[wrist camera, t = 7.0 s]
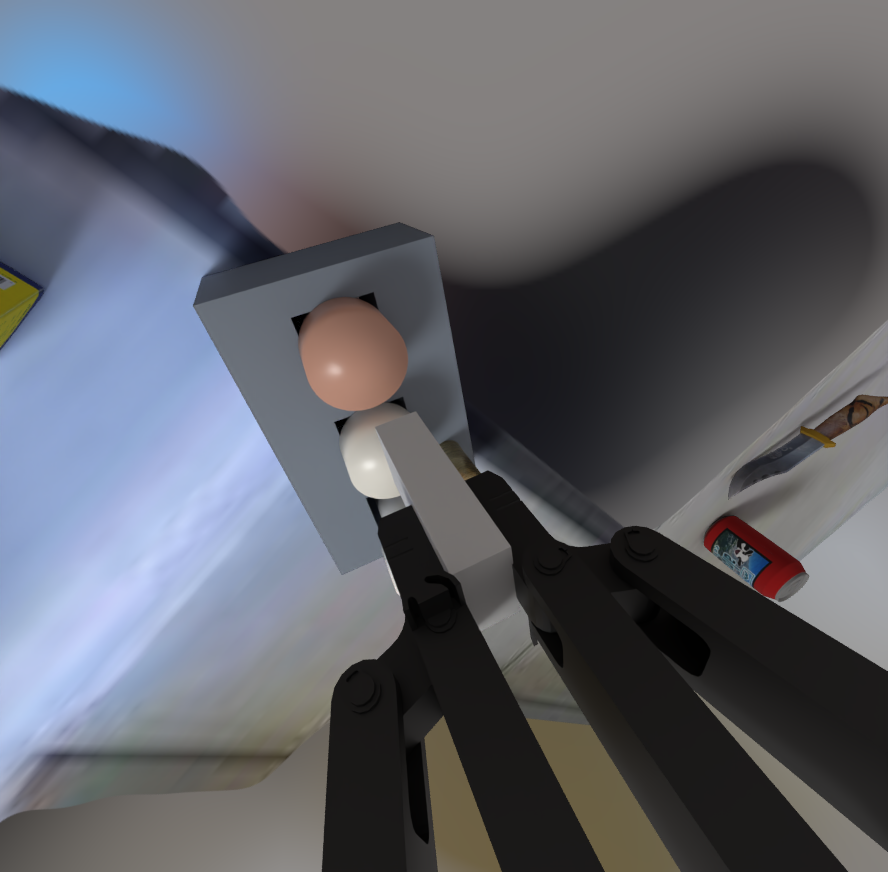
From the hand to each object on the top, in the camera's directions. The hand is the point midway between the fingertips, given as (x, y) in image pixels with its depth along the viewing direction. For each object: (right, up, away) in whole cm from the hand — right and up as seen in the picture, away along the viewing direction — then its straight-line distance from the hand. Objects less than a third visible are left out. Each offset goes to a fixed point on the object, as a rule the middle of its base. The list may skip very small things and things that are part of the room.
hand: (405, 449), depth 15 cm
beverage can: (+45, -14, +52) cm, 70 cm away
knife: (+49, 0, +45) cm, 67 cm away
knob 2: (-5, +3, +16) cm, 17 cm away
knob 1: (-6, +8, +12) cm, 15 cm away
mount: (-5, +3, +16) cm, 17 cm away
